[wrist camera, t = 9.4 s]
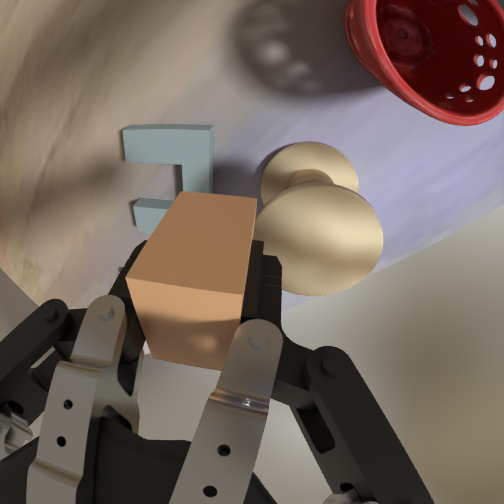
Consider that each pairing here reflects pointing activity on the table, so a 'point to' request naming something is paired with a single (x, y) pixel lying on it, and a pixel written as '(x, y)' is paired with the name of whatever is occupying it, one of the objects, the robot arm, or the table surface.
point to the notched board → (170, 161)
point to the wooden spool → (317, 220)
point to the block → (194, 278)
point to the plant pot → (432, 54)
